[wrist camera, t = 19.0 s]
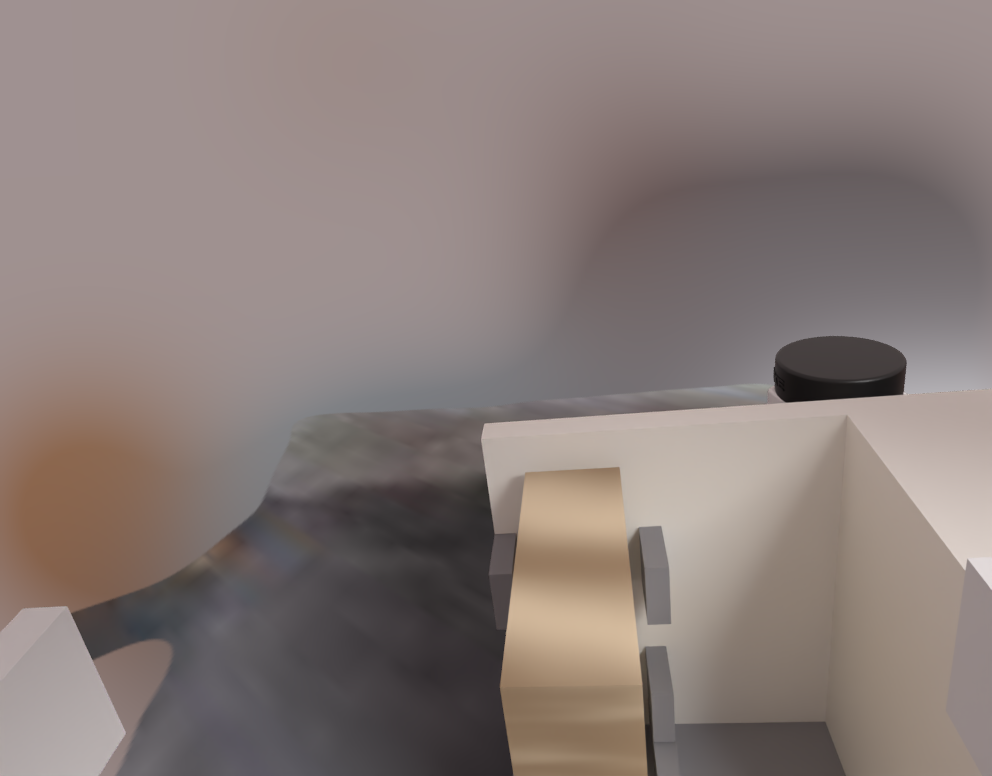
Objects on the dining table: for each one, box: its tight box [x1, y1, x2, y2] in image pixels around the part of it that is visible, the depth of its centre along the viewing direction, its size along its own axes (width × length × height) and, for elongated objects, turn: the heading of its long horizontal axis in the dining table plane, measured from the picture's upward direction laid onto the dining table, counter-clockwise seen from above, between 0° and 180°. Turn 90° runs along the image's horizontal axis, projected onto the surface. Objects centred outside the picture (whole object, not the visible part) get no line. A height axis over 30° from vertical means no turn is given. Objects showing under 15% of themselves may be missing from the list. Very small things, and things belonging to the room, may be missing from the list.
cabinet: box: [481, 389, 992, 776], centre depth 30 cm, size 16×23×18 cm, turn 85°
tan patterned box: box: [500, 467, 648, 776], centre depth 30 cm, size 12×4×16 cm, turn 175°
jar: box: [768, 336, 908, 404], centre depth 54 cm, size 9×8×12 cm
